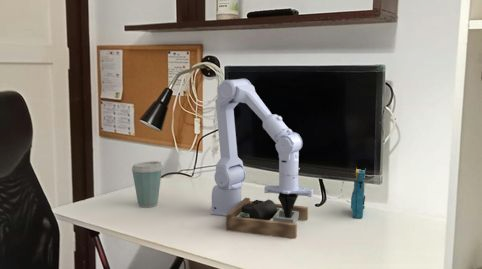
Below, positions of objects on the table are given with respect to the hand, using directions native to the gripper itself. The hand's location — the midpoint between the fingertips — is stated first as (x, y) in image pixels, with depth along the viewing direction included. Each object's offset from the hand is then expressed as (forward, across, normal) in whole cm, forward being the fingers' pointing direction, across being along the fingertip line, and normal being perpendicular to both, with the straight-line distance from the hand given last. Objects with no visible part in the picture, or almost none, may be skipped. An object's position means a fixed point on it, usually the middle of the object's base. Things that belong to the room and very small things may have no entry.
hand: (288, 217), depth 154 cm
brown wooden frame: (+3, -7, 0) cm, 8 cm away
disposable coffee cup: (+3, -51, +6) cm, 52 cm away
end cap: (+3, -9, 0) cm, 10 cm away
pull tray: (+3, -6, 0) cm, 7 cm away
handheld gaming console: (+3, +19, +19) cm, 27 cm away
